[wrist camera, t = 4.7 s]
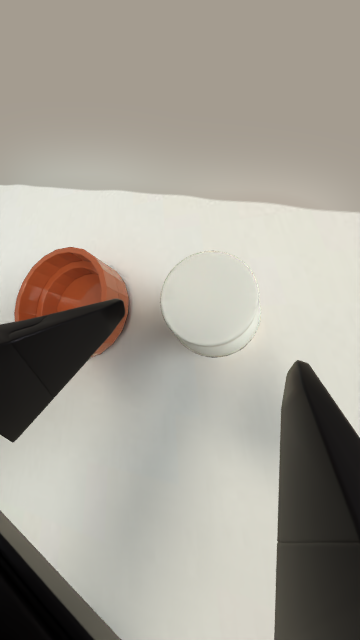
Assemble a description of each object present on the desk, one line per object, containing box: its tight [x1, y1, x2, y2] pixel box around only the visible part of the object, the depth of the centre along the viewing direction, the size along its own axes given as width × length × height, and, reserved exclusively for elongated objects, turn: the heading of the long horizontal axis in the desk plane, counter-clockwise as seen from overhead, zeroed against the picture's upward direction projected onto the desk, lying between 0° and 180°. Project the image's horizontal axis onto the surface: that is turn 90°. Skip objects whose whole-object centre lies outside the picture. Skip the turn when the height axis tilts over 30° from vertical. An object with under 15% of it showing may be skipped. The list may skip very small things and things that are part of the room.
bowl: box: [14, 247, 129, 358], centre depth 20 cm, size 12×12×4 cm
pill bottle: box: [160, 251, 261, 358], centre depth 13 cm, size 6×6×10 cm
